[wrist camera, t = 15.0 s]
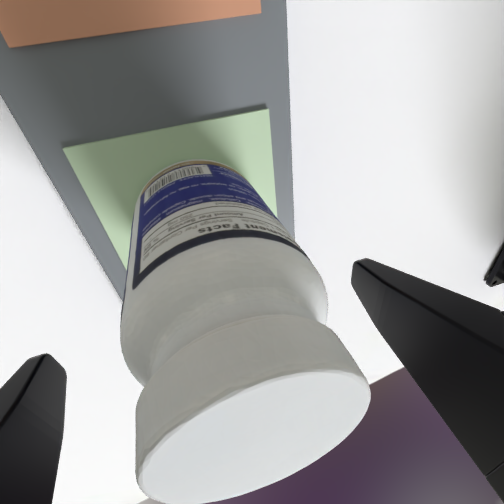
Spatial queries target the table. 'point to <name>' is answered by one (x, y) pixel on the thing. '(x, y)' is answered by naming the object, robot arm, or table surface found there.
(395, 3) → the table surface
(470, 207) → the table surface
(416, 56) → the table surface
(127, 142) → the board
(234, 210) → the pill bottle
